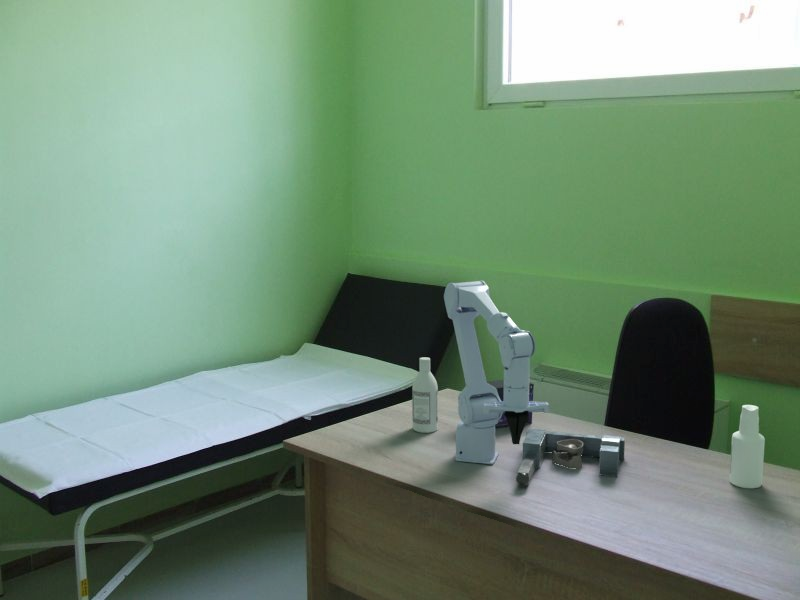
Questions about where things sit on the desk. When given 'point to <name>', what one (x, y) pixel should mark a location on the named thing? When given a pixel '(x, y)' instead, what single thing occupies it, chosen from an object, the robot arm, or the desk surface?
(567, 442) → the dental mold
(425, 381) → the bath foam
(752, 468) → the spray bottle
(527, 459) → the sliding jaw
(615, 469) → the vise bed
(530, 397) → the box
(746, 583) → the desk surface
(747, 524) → the desk surface
